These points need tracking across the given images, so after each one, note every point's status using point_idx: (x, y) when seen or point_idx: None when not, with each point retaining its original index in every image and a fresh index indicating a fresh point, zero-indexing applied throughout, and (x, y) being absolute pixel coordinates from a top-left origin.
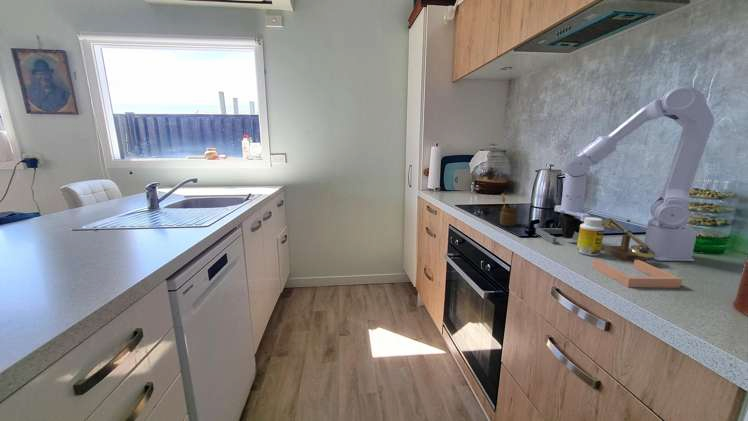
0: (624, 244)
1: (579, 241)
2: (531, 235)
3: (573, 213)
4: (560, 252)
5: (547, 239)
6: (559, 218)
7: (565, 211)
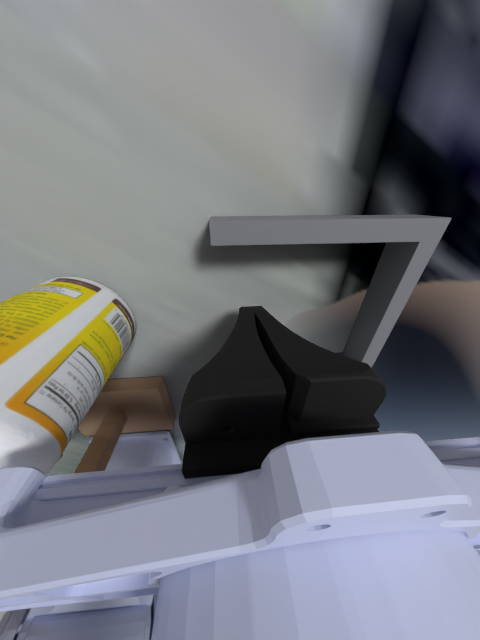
0: (94, 436)
1: (19, 301)
2: (400, 163)
3: (62, 554)
4: (30, 167)
5: (274, 216)
6: (329, 363)
7: (220, 530)
